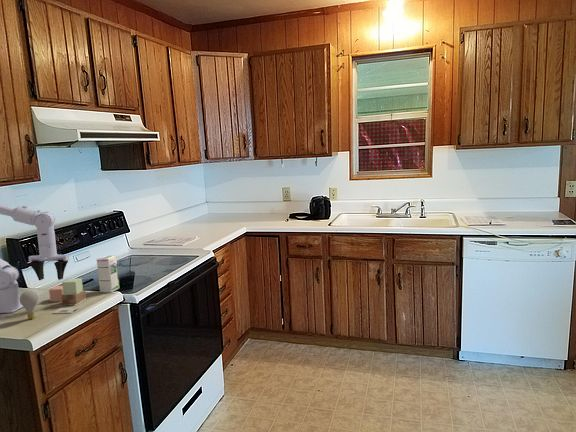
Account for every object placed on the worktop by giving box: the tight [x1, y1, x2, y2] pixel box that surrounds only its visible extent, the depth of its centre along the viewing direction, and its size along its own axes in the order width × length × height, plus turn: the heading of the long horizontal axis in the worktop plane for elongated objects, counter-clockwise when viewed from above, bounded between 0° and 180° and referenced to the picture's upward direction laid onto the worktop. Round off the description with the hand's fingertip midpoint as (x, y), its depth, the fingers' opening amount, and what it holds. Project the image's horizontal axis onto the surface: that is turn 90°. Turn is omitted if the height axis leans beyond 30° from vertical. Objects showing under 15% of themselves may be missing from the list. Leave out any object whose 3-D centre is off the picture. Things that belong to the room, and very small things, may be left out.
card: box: [51, 307, 75, 315], centre depth 153 cm, size 7×5×1 cm
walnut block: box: [61, 290, 87, 304], centre depth 163 cm, size 6×6×4 cm
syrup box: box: [96, 255, 120, 293], centre depth 176 cm, size 6×6×14 cm
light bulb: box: [19, 290, 39, 320], centre depth 145 cm, size 6×6×10 cm
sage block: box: [61, 277, 84, 295], centre depth 162 cm, size 5×5×5 cm
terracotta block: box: [48, 285, 63, 302], centre depth 167 cm, size 5×5×5 cm
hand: (51, 279), depth 160 cm, fingers open, 7 cm apart
